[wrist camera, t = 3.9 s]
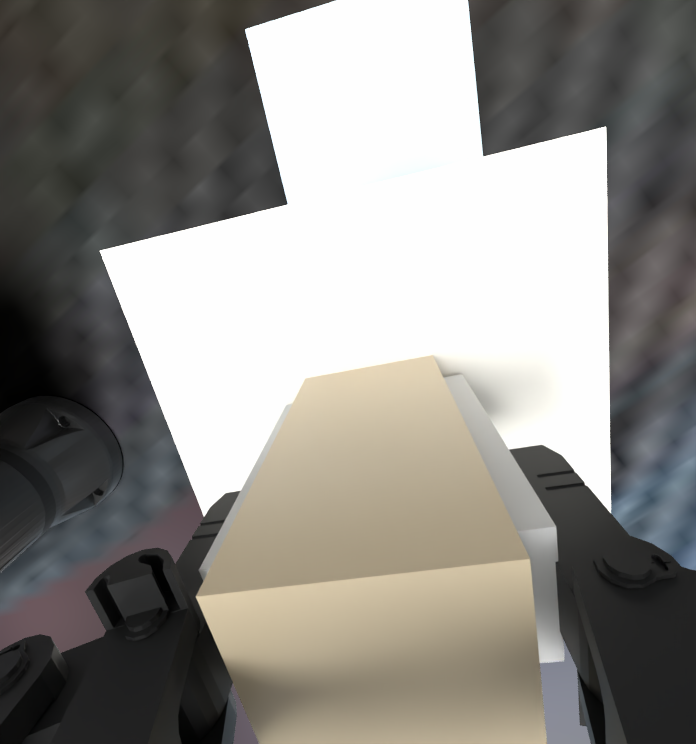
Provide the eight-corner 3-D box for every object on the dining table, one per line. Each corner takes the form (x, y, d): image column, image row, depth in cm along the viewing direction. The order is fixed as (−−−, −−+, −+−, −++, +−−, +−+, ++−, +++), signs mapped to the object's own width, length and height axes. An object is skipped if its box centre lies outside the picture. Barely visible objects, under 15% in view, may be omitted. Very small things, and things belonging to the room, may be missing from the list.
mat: (295, 228, 38) (293, 228, 38) (247, 32, 34) (245, 29, 33) (483, 183, 36) (485, 182, 35) (462, -35, 31) (463, -40, 31)
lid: (246, 591, 17) (115, 947, 8) (116, 249, 12) (-418, 277, 4) (599, 551, 15) (887, 956, 6) (589, 134, 11) (1390, -251, 2)
